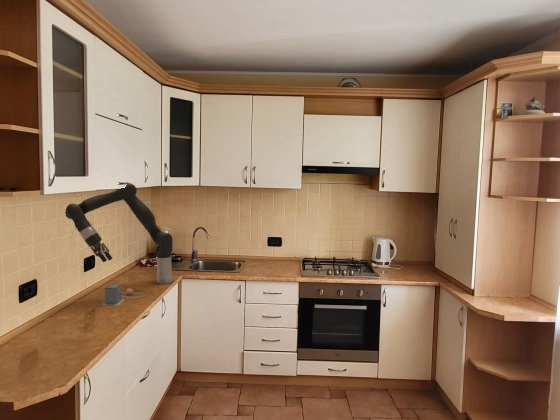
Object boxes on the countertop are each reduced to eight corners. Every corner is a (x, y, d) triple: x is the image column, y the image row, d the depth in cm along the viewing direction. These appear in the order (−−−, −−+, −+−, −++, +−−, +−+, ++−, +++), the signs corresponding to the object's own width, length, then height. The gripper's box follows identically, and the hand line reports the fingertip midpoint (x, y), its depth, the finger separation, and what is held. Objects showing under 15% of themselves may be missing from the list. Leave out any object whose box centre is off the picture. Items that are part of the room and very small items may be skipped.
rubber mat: (108, 301, 213) (108, 299, 213) (125, 301, 214) (124, 299, 214) (101, 306, 204) (101, 304, 204) (118, 306, 205) (118, 304, 205)
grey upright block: (110, 300, 212) (109, 284, 211) (121, 300, 212) (121, 284, 211) (105, 304, 206) (104, 287, 205) (117, 304, 206) (116, 287, 205)
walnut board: (122, 292, 229) (122, 290, 229) (145, 292, 229) (145, 290, 229) (112, 300, 215) (112, 298, 215) (137, 300, 215) (137, 298, 215)
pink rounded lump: (127, 293, 224) (127, 288, 223) (133, 293, 224) (133, 288, 223) (125, 295, 220) (125, 290, 220) (131, 295, 220) (131, 290, 220)
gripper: (91, 232, 200) (109, 258, 201) (101, 231, 214) (118, 255, 215) (79, 241, 199) (97, 266, 200) (90, 239, 214) (107, 262, 214)
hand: (108, 260), depth 208 cm, fingers open, 8 cm apart
